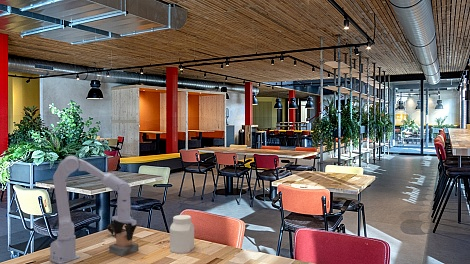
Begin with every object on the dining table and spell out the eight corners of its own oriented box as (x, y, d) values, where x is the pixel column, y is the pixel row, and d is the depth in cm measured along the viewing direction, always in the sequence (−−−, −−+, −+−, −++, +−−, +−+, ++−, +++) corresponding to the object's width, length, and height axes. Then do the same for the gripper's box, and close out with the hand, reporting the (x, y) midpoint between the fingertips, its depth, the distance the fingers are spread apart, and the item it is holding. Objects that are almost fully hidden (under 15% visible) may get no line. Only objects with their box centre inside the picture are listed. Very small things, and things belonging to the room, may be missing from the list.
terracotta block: (123, 247, 164) (123, 235, 164) (116, 244, 167) (116, 234, 167) (132, 244, 168) (132, 233, 168) (125, 242, 171) (125, 231, 171)
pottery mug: (130, 233, 197) (133, 221, 194) (125, 246, 189) (127, 234, 185) (108, 228, 196) (110, 216, 193) (102, 240, 188) (103, 228, 184)
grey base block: (122, 257, 161) (122, 249, 161) (109, 253, 166) (109, 245, 166) (138, 251, 168) (138, 243, 168) (125, 247, 174) (125, 240, 173)
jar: (187, 254, 164) (187, 220, 163) (167, 252, 166) (167, 219, 166) (196, 246, 175) (196, 214, 175) (177, 244, 177) (177, 213, 177)
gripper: (141, 209, 166) (141, 239, 167) (120, 205, 174) (120, 233, 175) (129, 212, 160) (129, 243, 161) (108, 208, 168) (108, 237, 169)
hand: (124, 238), depth 167 cm, fingers open, 7 cm apart
